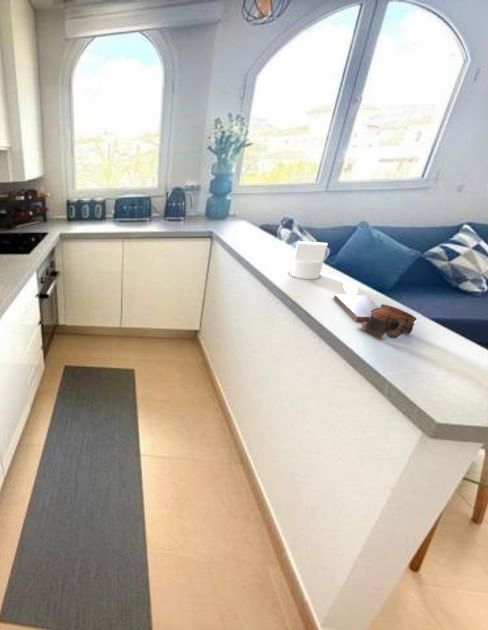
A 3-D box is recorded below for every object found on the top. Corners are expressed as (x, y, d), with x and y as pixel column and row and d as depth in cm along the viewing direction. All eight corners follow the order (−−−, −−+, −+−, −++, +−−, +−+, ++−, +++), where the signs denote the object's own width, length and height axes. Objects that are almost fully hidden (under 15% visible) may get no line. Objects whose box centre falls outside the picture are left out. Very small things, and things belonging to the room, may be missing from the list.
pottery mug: (350, 325, 93) (370, 299, 91) (383, 342, 92) (406, 316, 90) (377, 336, 82) (401, 306, 79) (416, 356, 81) (442, 326, 78)
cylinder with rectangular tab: (319, 272, 128) (327, 240, 123) (319, 280, 121) (327, 247, 116) (291, 269, 133) (298, 239, 127) (289, 277, 126) (296, 245, 121)
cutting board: (364, 299, 105) (365, 295, 105) (391, 323, 92) (393, 318, 91) (333, 298, 108) (334, 294, 107) (355, 321, 94) (357, 316, 93)
